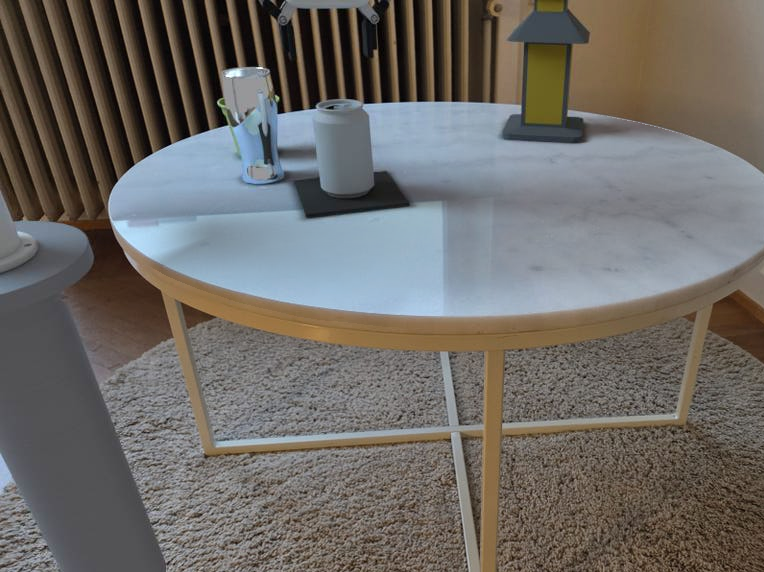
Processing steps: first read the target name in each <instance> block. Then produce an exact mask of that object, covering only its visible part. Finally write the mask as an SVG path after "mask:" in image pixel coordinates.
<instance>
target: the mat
mask: <svg viewBox="0 0 764 572" xmlns="http://www.w3.org/2000/svg"><path fill="white" fill-rule="evenodd" d="M373 173H374V186H373V187H372V188H371V189H370V190H369V192H368V193H367V194H365V195H363V196H359V197H354V198H337V197H333V196H331V195H329V194H328V193H327V192H326V191H324V190H323V189H322V188H321V183H320V177H312V178H302V179H294V180H293V185H294V187H295V190H296V193H297V196H298V199H299V201H300V204H301V207H302V210H303V213H304V215H305V218H316V217H323V216H334V215H341V214H349V213H359V212H366V211H368V212H369V211H376V210H383V209H393V208H401V207H409V206H410V202H409V200H408V199H407V197H406V196H405V195H404V193H403V192H402V191H401V189H400V187H399V186H398V185H397V183H396V182H395V181H394V179H393V178H392V176H391V175H390V174H389V172H388V171H387V170H381V171H380V170H379V171H373Z"/></svg>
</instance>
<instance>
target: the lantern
mask: <svg viewBox="0 0 764 572" xmlns="http://www.w3.org/2000/svg"><path fill="white" fill-rule="evenodd" d="M590 34H591V32H590V31H589V29H588V28H586V27H585V25H584V24H583V23H582V22H581V21H580V20H579V19H578V17H576V16H575V14H573V12H572V11H571V10H570V9H569V0H533V10H532V11H531V12H530V13H529V14H528V16H527V17H525V18H524V19H523V20H522V21H521V22H520V23H519V25H517V26H516V28H515V29H513V31H512V32H511V33H510V35H509V36H508V37H507V38H506V41H507V42H513V43H514V42H515V43H523V60H522V81H521V82H522V83H521V84H522V85H521V105H520V106H521V110H520V111H521V112H520V113H513V114H510V115H509V117H508V118H507V121H506V123H505V125H504V128H503V130H502V133H501V135H502V136H501V137H502V139H504V140H510V141H529V142H533V141H534V142H550V143H570V144H579V143H581V142H582V138H583V129H584V118H582V117H580V116H570V115H569V116H568V114H569V113H568V112H569V99H570V88H571V87H570V86H571V76H572V75H571V74H572V61H573V47H574V45H586V44H589V41H590Z"/></svg>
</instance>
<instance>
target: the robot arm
mask: <svg viewBox="0 0 764 572" xmlns="http://www.w3.org/2000/svg"><path fill="white" fill-rule="evenodd" d="M391 1H392V0H376V2H375V3H374V4H373V5H372V6H371V5H370V0H284V1H283V2H282V4H281V6H280V7H278V6H277V5H276V4H275V3H274V2H273V1H272V0H258V2H259V3H260V5H261V6H262V8H263V9H264V10H265V11H266V12H267V14H269V15H270V16H271V17H272V18H273V19H274V20H275V21H277V23H279V31H280V39H281V47H282V52H283V54H284V53H285V54H286V53H287V54H288V58H289V60H290V61H291V62H296V60H298V57H297V47H296V38H295V28H294V26H293V24H292V22H291V19H292V17H293V16H294V14H295V13H296V11H297V10H298V9H357V10H358V11H359V12H360V13H361V15H362V16H363V20H362V22H361V32H362V33H361V35H362V48H363V49H362V50H363V51H362V52H363V55H364V56H365V57H367V58H368V59H374V57H375V56H374V55H375V54H374V51H377V50H378V33H377V31H378V30H377V23H379V22H380V19H381V18H382V16H383V15H384V14H385V13H386V11H387V10H388V9H389V8H390V3H391ZM1 190H2V189H0V273H3V272H6V271H8V270H11V269H13V268H16V267H18V266H20V265H22V264H24V263H25V262H27V261H28V260H30V259H31V258H32V257H33V256H34V255H35V254H36V252H37V251H38V245H37V243H36V240H35V238H34V237H33V236H31V235H29V234H27V233H23V232H18V231H17V230H16V228H15V225H14V223H13V222H14V220H13V218H12V216H11V213H10V211H9V209H8V205H7V203H6V201H5V198H4V196H3V193H2V191H1Z"/></svg>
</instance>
